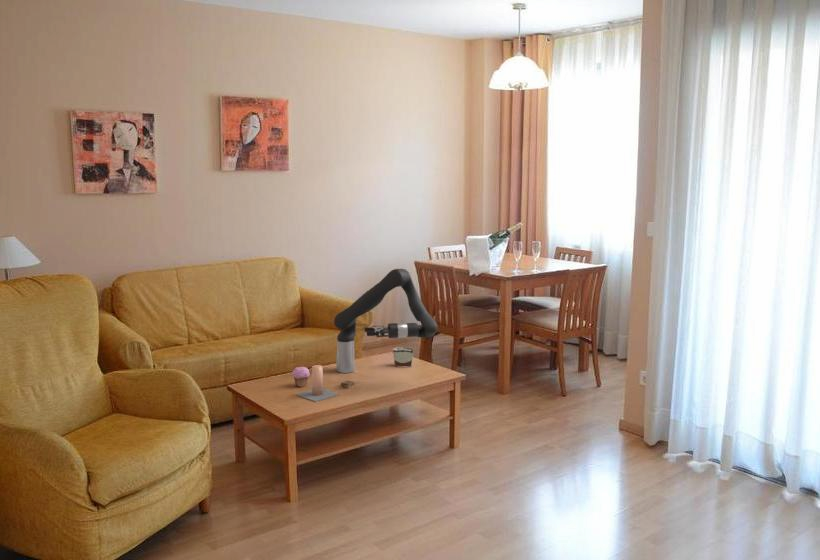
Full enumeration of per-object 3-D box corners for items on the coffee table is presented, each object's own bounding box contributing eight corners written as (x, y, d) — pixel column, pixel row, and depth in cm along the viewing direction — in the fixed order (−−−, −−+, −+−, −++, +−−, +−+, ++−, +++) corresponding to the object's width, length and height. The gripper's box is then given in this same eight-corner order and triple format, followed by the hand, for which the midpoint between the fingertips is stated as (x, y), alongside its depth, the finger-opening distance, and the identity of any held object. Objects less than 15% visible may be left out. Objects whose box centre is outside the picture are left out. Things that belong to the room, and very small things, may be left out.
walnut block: (340, 387, 374) (340, 382, 373) (346, 384, 378) (346, 380, 378) (348, 388, 371) (348, 384, 371) (354, 386, 375) (354, 381, 375)
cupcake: (289, 385, 375) (288, 366, 373) (302, 382, 381) (302, 363, 380) (299, 389, 369) (299, 370, 367) (313, 385, 375) (313, 366, 373)
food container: (414, 364, 416) (415, 347, 414) (413, 367, 410) (414, 349, 408) (393, 363, 417) (393, 346, 415) (392, 366, 411) (392, 349, 409)
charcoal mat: (296, 395, 360) (296, 394, 360) (319, 388, 370) (319, 387, 370) (315, 402, 349) (315, 400, 349) (339, 395, 360) (339, 393, 360)
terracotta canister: (310, 394, 360) (309, 366, 357) (318, 391, 363) (318, 364, 361) (317, 396, 356) (316, 368, 354) (325, 393, 360) (324, 366, 358)
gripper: (395, 320, 373) (363, 321, 370) (400, 326, 359) (367, 327, 356) (395, 334, 374) (363, 335, 371) (400, 341, 361) (367, 342, 357)
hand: (365, 331), depth 364 cm, fingers open, 8 cm apart
